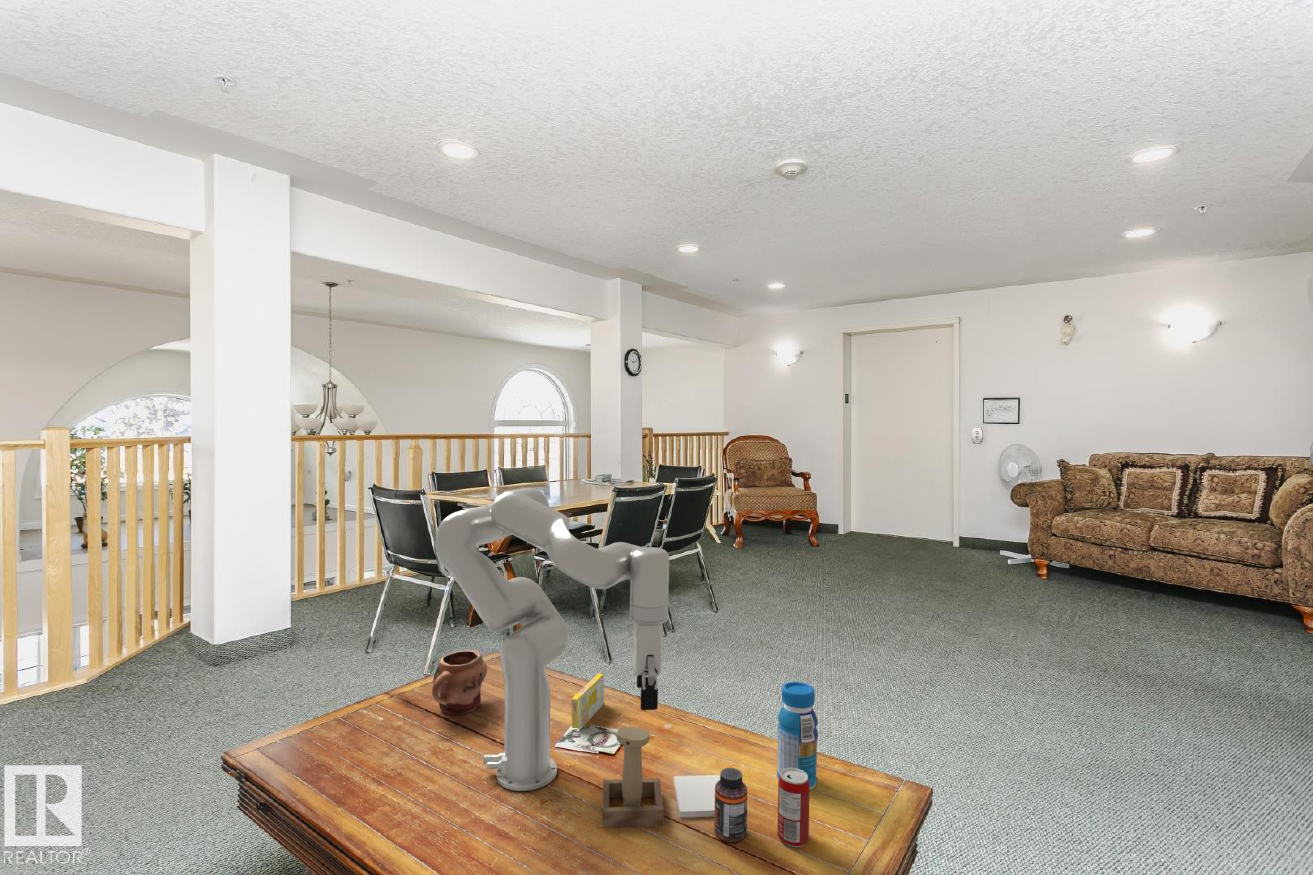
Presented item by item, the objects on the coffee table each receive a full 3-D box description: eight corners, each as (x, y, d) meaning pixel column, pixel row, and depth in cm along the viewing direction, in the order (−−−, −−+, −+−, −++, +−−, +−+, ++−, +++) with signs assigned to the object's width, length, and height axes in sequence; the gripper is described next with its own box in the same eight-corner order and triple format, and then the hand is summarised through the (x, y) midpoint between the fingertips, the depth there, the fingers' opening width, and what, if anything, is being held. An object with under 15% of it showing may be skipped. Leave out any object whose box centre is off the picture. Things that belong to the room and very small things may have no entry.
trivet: (679, 817, 120) (679, 811, 120) (673, 781, 132) (673, 776, 132) (741, 815, 121) (741, 809, 121) (730, 780, 133) (730, 774, 133)
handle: (642, 820, 119) (643, 742, 119) (611, 812, 121) (612, 735, 121) (652, 806, 123) (653, 730, 123) (622, 798, 126) (623, 724, 125)
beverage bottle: (773, 787, 130) (774, 692, 130) (779, 766, 138) (781, 676, 138) (814, 796, 127) (816, 698, 127) (819, 774, 135) (820, 682, 135)
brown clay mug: (459, 731, 152) (459, 674, 152) (414, 725, 155) (414, 669, 154) (497, 696, 172) (497, 645, 171) (456, 691, 174) (456, 642, 174)
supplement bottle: (711, 823, 118) (712, 764, 118) (742, 822, 119) (743, 763, 119) (717, 844, 112) (718, 782, 112) (750, 843, 113) (751, 781, 113)
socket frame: (602, 827, 117) (602, 811, 117) (603, 794, 127) (603, 779, 127) (663, 825, 118) (663, 809, 118) (659, 792, 128) (659, 778, 128)
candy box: (597, 703, 169) (597, 672, 168) (604, 704, 168) (605, 673, 168) (570, 731, 153) (570, 697, 153) (578, 732, 153) (578, 699, 152)
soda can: (803, 828, 117) (805, 765, 117) (812, 848, 112) (813, 781, 111) (774, 828, 117) (775, 765, 117) (781, 848, 112) (782, 782, 111)
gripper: (627, 599, 131) (625, 679, 132) (632, 626, 114) (630, 719, 115) (662, 598, 132) (660, 679, 133) (673, 626, 115) (671, 718, 116)
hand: (646, 697), depth 124 cm, fingers open, 9 cm apart
